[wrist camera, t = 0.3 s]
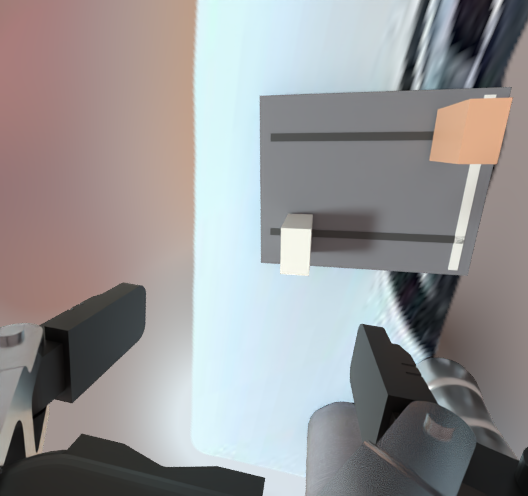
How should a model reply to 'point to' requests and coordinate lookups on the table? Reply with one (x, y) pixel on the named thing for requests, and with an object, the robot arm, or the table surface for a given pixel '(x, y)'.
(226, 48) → the table surface
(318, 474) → the pillar candle
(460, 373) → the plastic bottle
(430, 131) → the fader panel
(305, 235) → the cream fader
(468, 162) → the block
